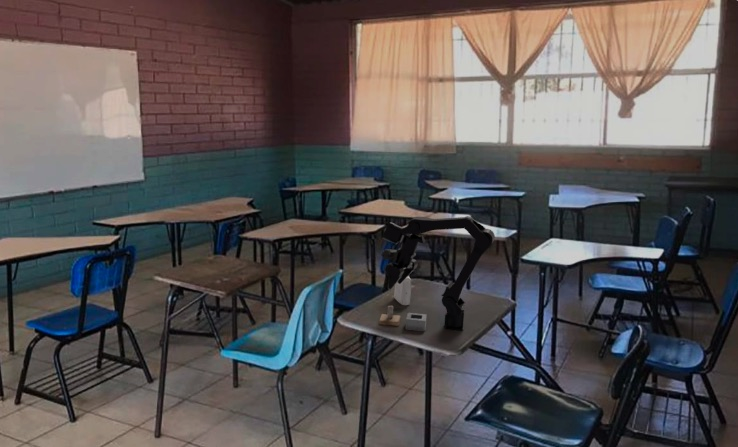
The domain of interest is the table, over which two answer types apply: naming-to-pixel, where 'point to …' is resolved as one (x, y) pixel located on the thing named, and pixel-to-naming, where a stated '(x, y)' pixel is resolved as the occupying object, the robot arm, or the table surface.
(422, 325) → the hollow square frame
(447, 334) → the table surface
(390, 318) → the tan knobbed plate
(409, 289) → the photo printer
